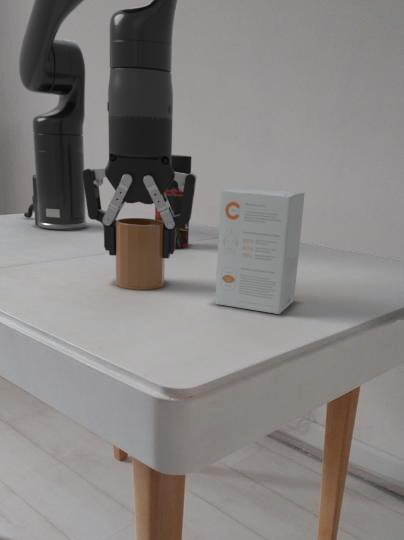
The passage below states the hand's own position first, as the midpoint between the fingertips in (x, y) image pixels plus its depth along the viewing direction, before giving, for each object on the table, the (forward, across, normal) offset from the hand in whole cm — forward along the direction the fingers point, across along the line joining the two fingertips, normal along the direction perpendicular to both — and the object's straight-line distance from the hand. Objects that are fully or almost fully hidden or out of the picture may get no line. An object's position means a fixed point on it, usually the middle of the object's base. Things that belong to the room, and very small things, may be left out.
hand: (139, 255), depth 72 cm
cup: (+4, 0, 0) cm, 4 cm away
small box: (+4, -15, +6) cm, 17 cm away
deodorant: (+4, -1, -28) cm, 28 cm away
